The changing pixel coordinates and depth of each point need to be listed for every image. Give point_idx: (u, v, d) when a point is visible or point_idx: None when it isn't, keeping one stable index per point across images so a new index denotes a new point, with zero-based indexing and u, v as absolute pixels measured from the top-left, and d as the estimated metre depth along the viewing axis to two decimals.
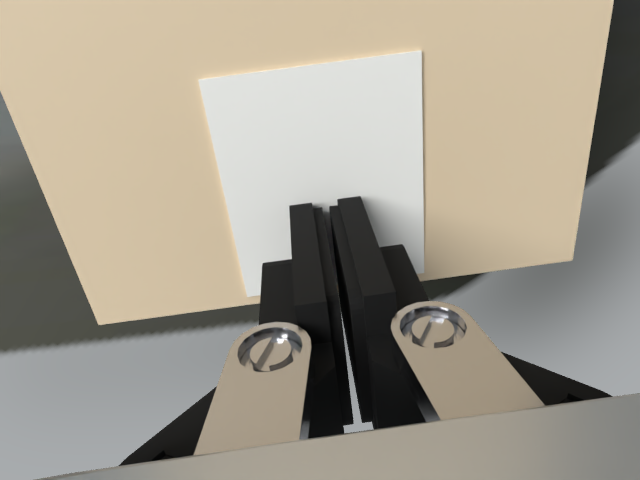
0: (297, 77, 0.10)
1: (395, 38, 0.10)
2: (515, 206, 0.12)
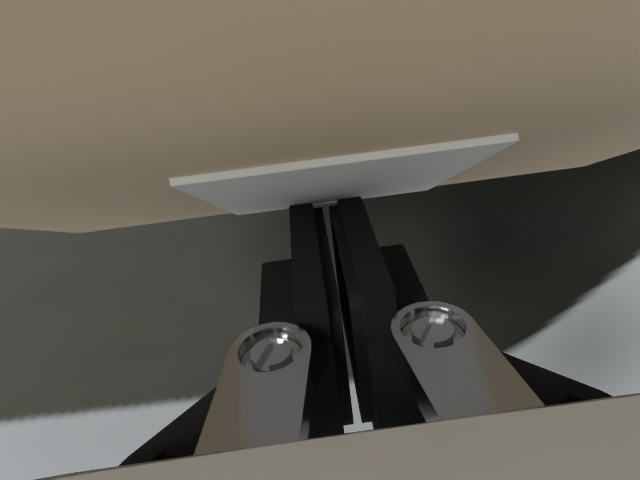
0: (322, 167, 0.06)
1: (487, 133, 0.06)
2: (550, 162, 0.10)
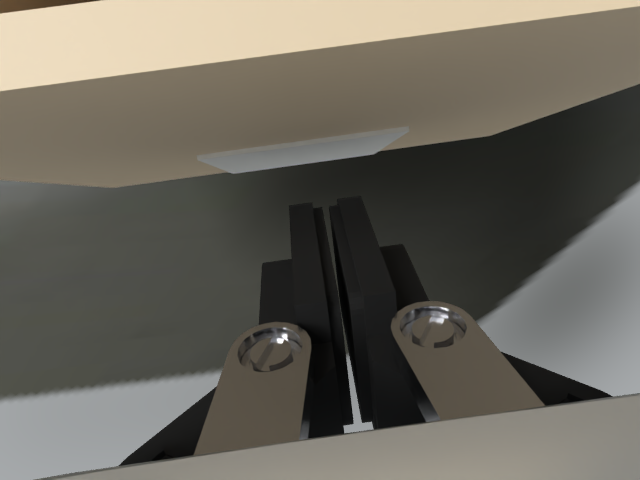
0: (290, 147, 0.10)
1: (387, 127, 0.10)
2: (457, 135, 0.14)
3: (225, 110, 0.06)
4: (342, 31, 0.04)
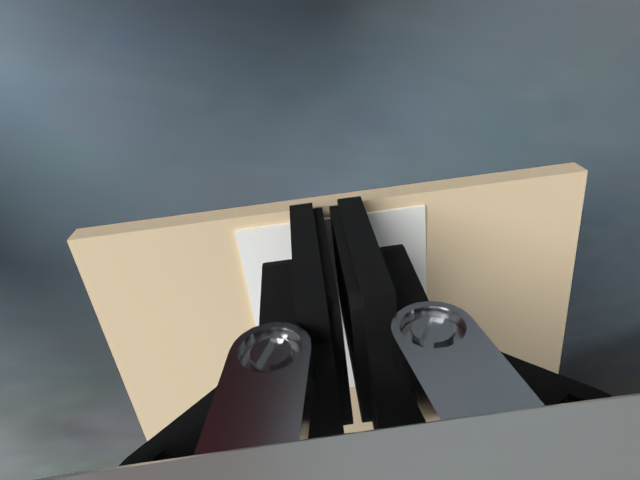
0: None
1: None
2: None
3: None
4: None
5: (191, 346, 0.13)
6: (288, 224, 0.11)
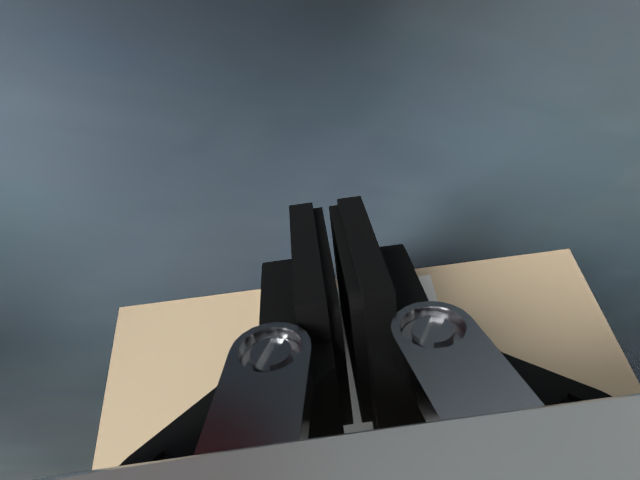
0: None
1: None
2: None
3: None
4: None
5: None
6: None
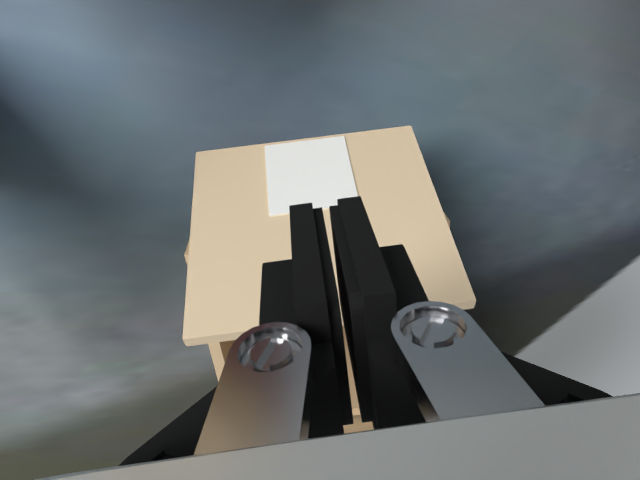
0: None
1: None
2: None
3: None
4: None
5: (232, 191, 0.25)
6: (286, 143, 0.27)
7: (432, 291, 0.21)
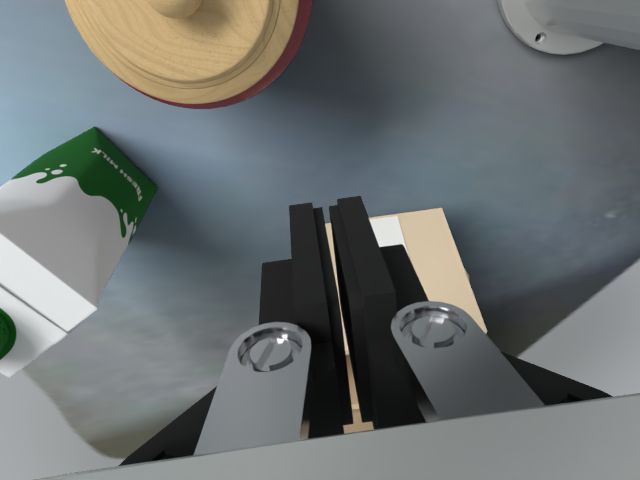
0: None
1: None
2: None
3: None
4: None
5: None
6: None
7: None
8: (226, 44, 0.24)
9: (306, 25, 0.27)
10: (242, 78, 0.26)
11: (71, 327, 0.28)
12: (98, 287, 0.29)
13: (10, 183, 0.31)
